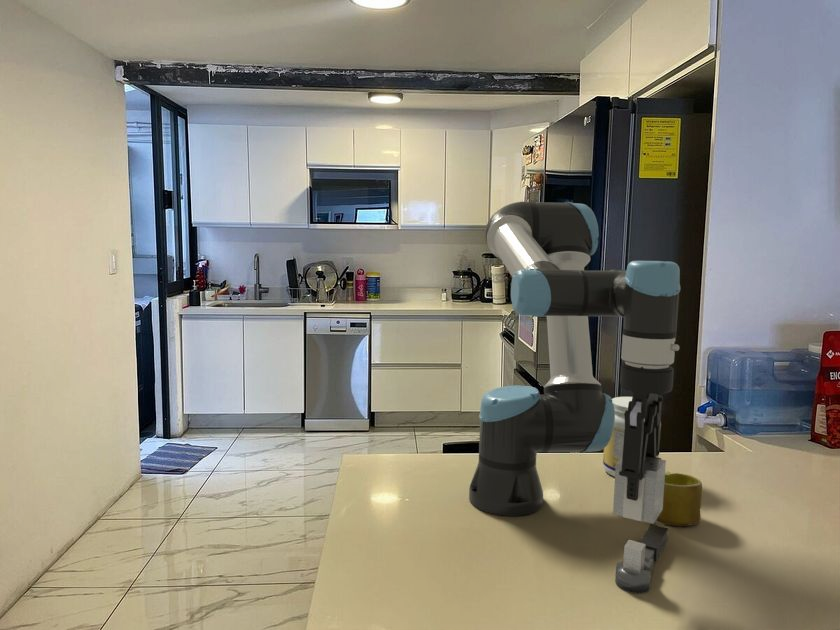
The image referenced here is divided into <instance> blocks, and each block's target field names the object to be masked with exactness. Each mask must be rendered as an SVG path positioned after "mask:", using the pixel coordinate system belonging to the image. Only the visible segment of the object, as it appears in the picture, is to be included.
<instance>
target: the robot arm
mask: <svg viewBox="0 0 840 630" xmlns="http://www.w3.org/2000/svg"><path fill="white" fill-rule="evenodd" d="M599 236H600V233H599V224H598V221H597V217H596V214H595V213H594V211H593V210H592V208H591V207H589V206H588V205H587V204H584V203H575V202H572V201H565V202H551V201H550V202H544V201H516V202H512V203H510V204H507V205H504V206H503V207H501V208H500V209H497V211H496V212H494V213H493V214H492V215H491V217H490V218H489V219H488V221H487V223H486V226H485V230H484V239H485V244H486V246H487V248H488V249H489V251H490V252H491V254H493V256H495V257H496V258H498V259H500V260H501V261H502V262H503V264H504V266H505V268H506V270H507V271H508V273H509V274H510V276H511V278H512V279H511V283H510V301H511V306H512V309H513V311H514V312H515V314H517V315H519V316H532V317H537V318H540V317H546V325H547V339H548V340H547V341H548V356H549V370H550V371H549V373H550V374H549V375H550V379H549V380H548V381H547V383H546V384H544V386H543V394H540V391H539V390H538V388H536V387H533V386H532V385H531V386H529V385H520V384H519V385H505V386H501V387H500V386H499V387H497V388H494V389H490V390H489V391H487V392H486V393H485V394H484V395H483V396H482V398H481V401H480V408H479V409H480V410H479V415H478V419H479V439H478V440H479V443H478V463H477V466H476V468H475V471H474V474H473V477H472V479H471V482H470V484H469V489H468V500H469V502H470V503H471V504H472V505H473V506H474V507H475V508H477V509H479V510H481V511H482V512H486V513H489V514H493V515H496V516H497V515H499V516H506V517H507V516H508V517H519V516H526V515H527V516H528V515H530V514H533V513H536V512H538V511H539V510H541V508H542V507H543V505H544V491H543V487H542V483H541V480H540V476H539V473H538V470H537V453H582V454H583V453H588V452H589V453H591V452H599V451H602V450H604V448H605V447H606V446H607V445H608V443H609V441H610V439H611V436H612V433H613V429H614V422H615V409H614V404H613V403H612V399H613V398H612V396H610V395H609V394H606V393H604V392H602V384H601V382H599V381H598V380H597V379H596V378H595V377H594V375H593V373H594V372H593V364H592V363H593V362H592V360H593V359H592V351H591V348H592V347H591V338H590V337H591V336H590V327H589V326H590V325H589V317H617V318H618V317H619V318H623V328H622V338H621V339H622V341H621V354H620V355H621V356H620V358H621V360H622V362H623V361H624V362H623V363H622V364H621V365H620V378H619V384H620V387H621V388H622V389H624V390H626V391H630V392H631V393H632V396H631V397H632V401H629V404H628V410H626V411H625V413H624V416H625V431H624V444H623V457H622V470H621V471H619V475H620V476H624V477H625V485H624V502H623V516H622V518H626V519H630V520H634V521H637V522H638V521H639V522H643V521H642V515H643V499H644V483H645V478H643V471H644V464H645V456H646V457H651V458H656V459H662V458H661V457H658V458H657V457H656V456H658V455H660V444H661V443H660V441H661V430H660V423H661V424H662V422H661V421H662V420H661V419H662V406H663V402H664V401H663V400H664V398H663V396H662V395H664V394H668V393H671V392H672V391H673V389H674V388H673V387H674V372H675V371H674V368H673V366H671V365H673V364H674V362H675V354H676V353H675V352H678V351H679V350H680V345H679V344H675V342H676V337H677V329H678V327H677V326H678V315H679V302H680V293H681V284H680V277H681V276H680V275H681V274H680V273H681V271H680V265H678V263H676V262H674V261H662V260H631V261H630V262H629V263H628V264H627V267H626V269H610V270H587V269H586V270H585V267H586V266H587V265H588V264H589V263H590V262H591V256H593V255H594V254H595V253H596V252H597V249H598V245H599ZM659 443H660V444H659Z"/></svg>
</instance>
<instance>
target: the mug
mask: <svg viewBox="0 0 840 630" xmlns="http://www.w3.org/2000/svg"><path fill="white" fill-rule="evenodd" d="M702 495H703V484H702V481H701V479H699V478H698V477H695V476H693V475H691V474H686V473H679V472H678V473H677V472H674V473H672V472H670V471H669V470H665V481H664V496H663V510H662V511H661V513H660V515H659V516H658V518H657V519H656V521H657V520H658V521H659V522H661V523H663V524H664V525H671V526H676V527H677V526H678V527H679V526H682V527H683V526H685V527H686V526H690V525H691V526H693V525H696V524H699V523H700V521H701V509H702V508H701V507H702Z"/></svg>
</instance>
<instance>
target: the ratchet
mask: <svg viewBox="0 0 840 630" xmlns="http://www.w3.org/2000/svg"><path fill="white" fill-rule="evenodd" d="M649 524H650V525H649V526H648V528H647V529H646V531H645V533H644V534H643V535H642V537H641V539H640V540H639V541H636V540H631V539H628V541H626V543H625V545H624V547H623V548H624V549H623V560H620V561H618V562H617V563H616V565H615V578H614V579H615V581H614V582H615V585H616V586H617V587H619V588H620V589H621V590H622V591H625V592H628V593H632V594H644V593H647V592H649V591H650V589H651V579H652V574H653V571H654V564H655V563H657V561H658V560H659V557H660V556H661V553H662V552H663V550H664V548H665V546H666V544H667V543H668V534H669V528H668V527H666V526H661V525H656V524H655V523H654V524H652V523H649Z"/></svg>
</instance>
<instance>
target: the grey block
mask: <svg viewBox="0 0 840 630" xmlns="http://www.w3.org/2000/svg"><path fill="white" fill-rule="evenodd" d="M666 463H667V460H665V459H662V458H661V459H656V458H651V457H646V456H645V464H644V471H643V478H645V483H644V499H643V515H642V521H641V522H644V523H647V524H648V523H649V524H654V525H655V522H656V521H657V518H658V516H659V515H660V513H661V511H662V510H663V496H664V481H665V471H666ZM621 470H622V458H621V459H620V460H619V461H618V462H617V463H616V468H615V477H614V489H613V509H612V514H613V515H618V516H620V517H623V502H624V485H625V477H624V476H620V475H619V471H621Z"/></svg>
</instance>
